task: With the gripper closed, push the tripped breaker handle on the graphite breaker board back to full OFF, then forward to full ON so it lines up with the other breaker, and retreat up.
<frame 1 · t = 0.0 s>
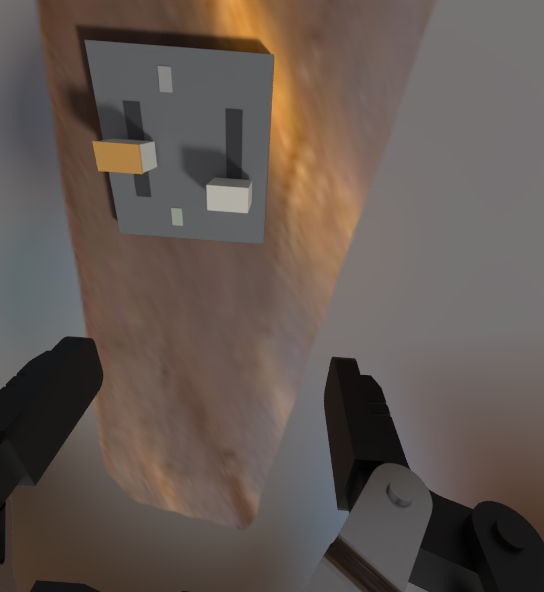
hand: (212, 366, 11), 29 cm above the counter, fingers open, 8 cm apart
breaker handle: (127, 155, 31), point 5 cm above the counter, slide at 3.0 cm
breaker board: (191, 153, 34), on the counter
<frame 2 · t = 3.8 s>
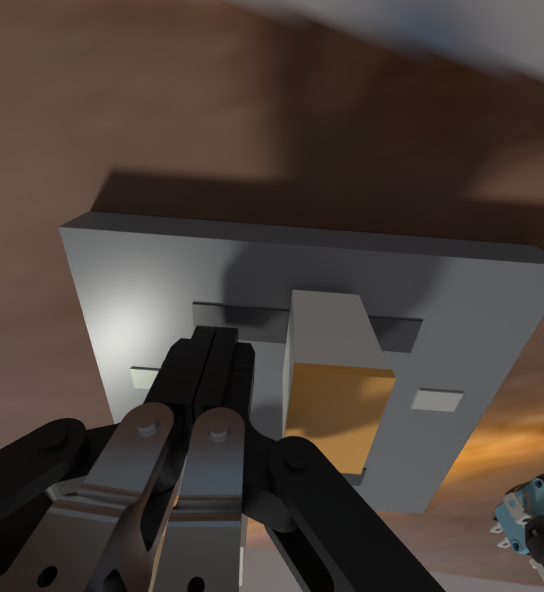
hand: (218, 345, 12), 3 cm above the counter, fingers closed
breaker handle: (323, 374, 11), point 5 cm above the counter, slide at 2.5 cm, touching gripper
breaker board: (291, 380, 17), on the counter
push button: (516, 498, 22), on the counter
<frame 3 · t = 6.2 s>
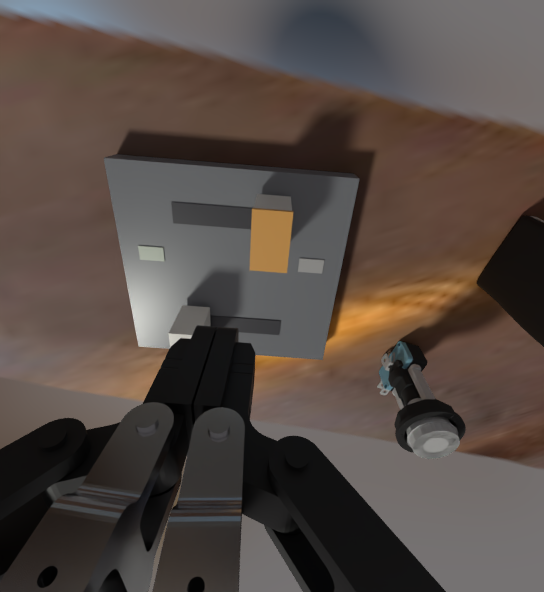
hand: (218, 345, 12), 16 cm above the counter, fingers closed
breaker handle: (271, 231, 22), point 5 cm above the counter, slide at -0.1 cm
breaker board: (234, 265, 28), on the counter
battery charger: (512, 254, 27), on the counter
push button: (392, 361, 34), on the counter
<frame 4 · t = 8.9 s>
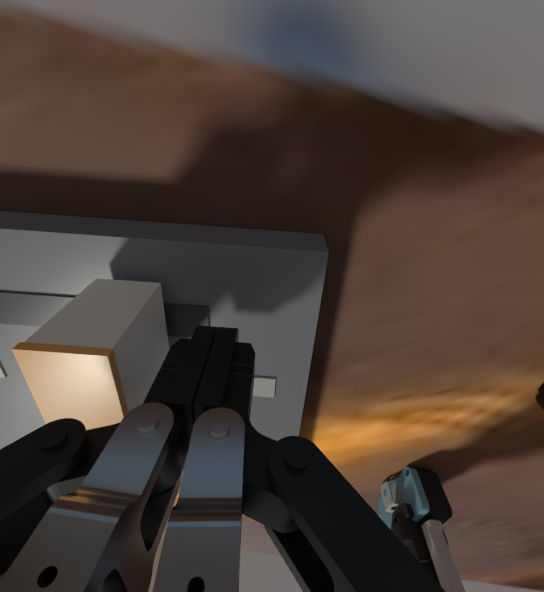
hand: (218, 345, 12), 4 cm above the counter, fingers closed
breaker handle: (112, 358, 11), point 5 cm above the counter, slide at 1.3 cm, touching gripper
breaker board: (139, 369, 17), on the counter
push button: (396, 487, 23), on the counter
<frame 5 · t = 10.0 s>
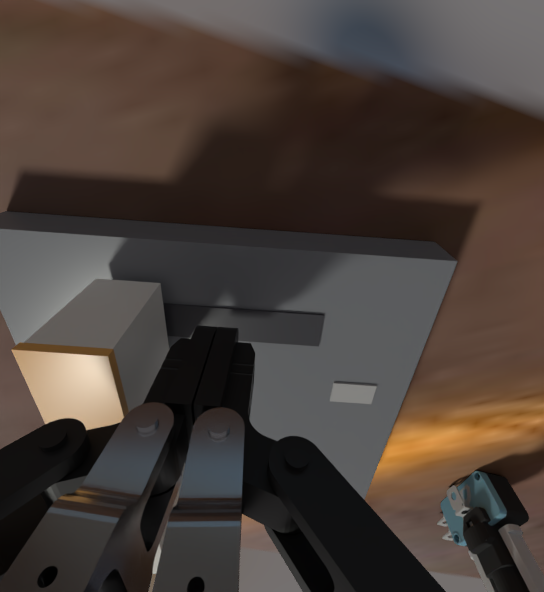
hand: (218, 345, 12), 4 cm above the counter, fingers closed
breaker handle: (112, 359, 11), point 5 cm above the counter, slide at 6.1 cm, touching gripper
breaker board: (223, 375, 17), on the counter
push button: (461, 491, 23), on the counter
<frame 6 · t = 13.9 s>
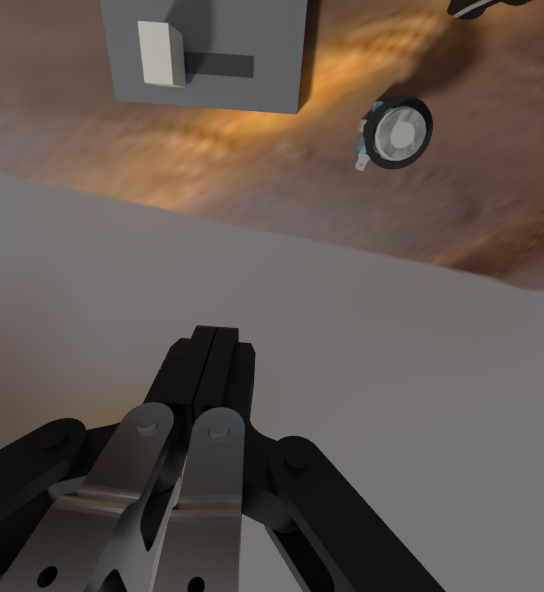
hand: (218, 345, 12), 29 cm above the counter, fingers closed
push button: (369, 135, 34), on the counter
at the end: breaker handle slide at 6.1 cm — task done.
